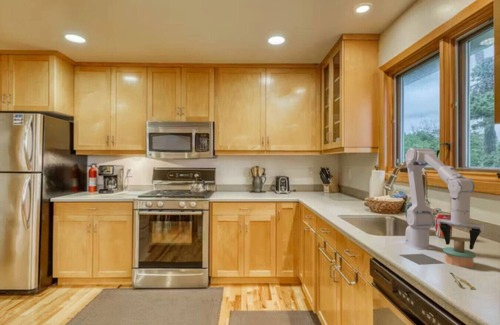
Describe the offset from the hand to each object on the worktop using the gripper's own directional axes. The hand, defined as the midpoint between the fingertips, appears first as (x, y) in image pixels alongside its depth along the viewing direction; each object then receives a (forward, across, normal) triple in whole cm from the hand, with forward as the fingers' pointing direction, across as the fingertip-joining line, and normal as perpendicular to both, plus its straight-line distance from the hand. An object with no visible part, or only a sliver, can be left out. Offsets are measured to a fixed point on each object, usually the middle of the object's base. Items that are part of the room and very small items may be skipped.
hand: (459, 246), depth 111 cm
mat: (+7, -11, -6) cm, 14 cm away
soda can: (+7, -17, +41) cm, 45 cm away
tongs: (+7, +4, -19) cm, 21 cm away
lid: (+3, 0, 0) cm, 3 cm away
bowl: (+7, 0, 0) cm, 7 cm away
